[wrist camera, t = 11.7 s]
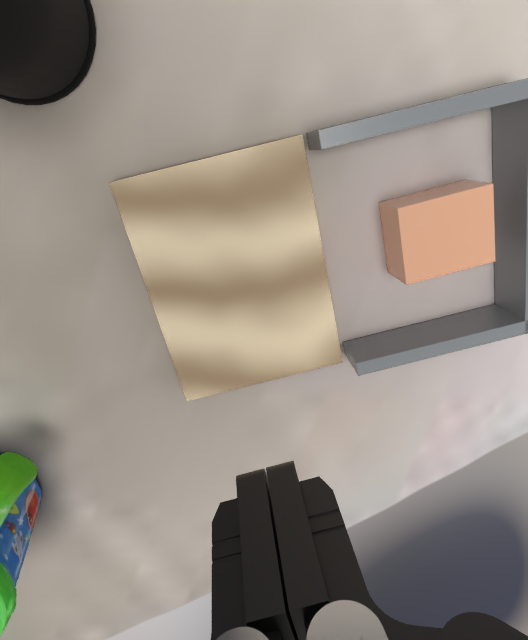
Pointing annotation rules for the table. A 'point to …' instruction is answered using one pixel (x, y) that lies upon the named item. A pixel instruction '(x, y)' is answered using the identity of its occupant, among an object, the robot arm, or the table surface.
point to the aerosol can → (44, 48)
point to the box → (509, 221)
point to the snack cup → (15, 524)
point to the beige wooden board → (234, 266)
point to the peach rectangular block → (439, 230)
